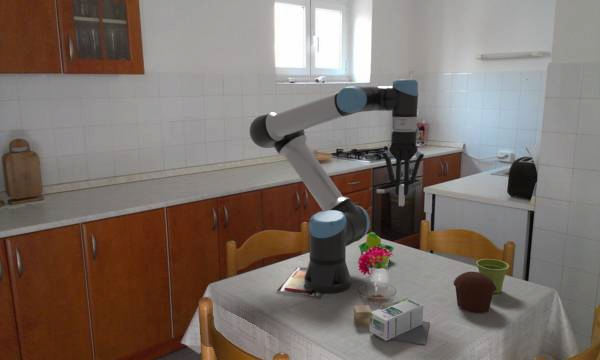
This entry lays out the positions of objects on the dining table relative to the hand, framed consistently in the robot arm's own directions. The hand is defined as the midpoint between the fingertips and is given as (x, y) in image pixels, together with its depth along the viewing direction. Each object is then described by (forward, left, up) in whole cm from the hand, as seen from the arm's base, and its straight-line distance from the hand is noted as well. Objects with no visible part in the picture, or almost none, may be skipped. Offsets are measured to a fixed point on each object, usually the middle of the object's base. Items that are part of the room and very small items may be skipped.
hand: (401, 205), depth 153 cm
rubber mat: (+6, -31, -26) cm, 41 cm away
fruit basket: (-12, +20, -27) cm, 35 cm away
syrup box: (+8, -25, -23) cm, 35 cm away
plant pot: (+28, +4, -27) cm, 39 cm away
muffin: (+23, -10, -27) cm, 37 cm away
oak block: (-5, -30, -27) cm, 40 cm away
